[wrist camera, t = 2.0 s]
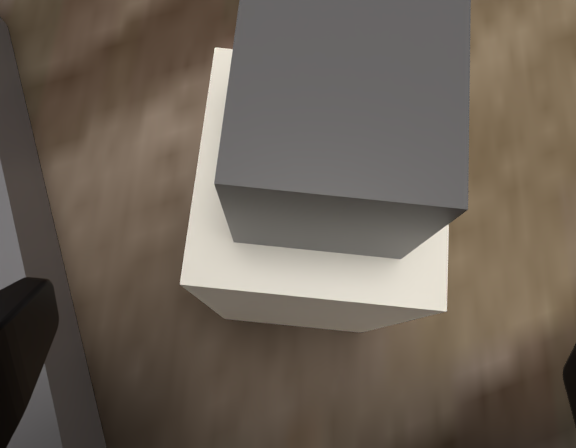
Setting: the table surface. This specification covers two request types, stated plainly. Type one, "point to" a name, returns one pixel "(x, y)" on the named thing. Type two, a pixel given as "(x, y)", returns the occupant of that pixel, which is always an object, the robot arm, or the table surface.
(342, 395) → the table surface
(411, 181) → the plug
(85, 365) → the plate
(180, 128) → the table surface
